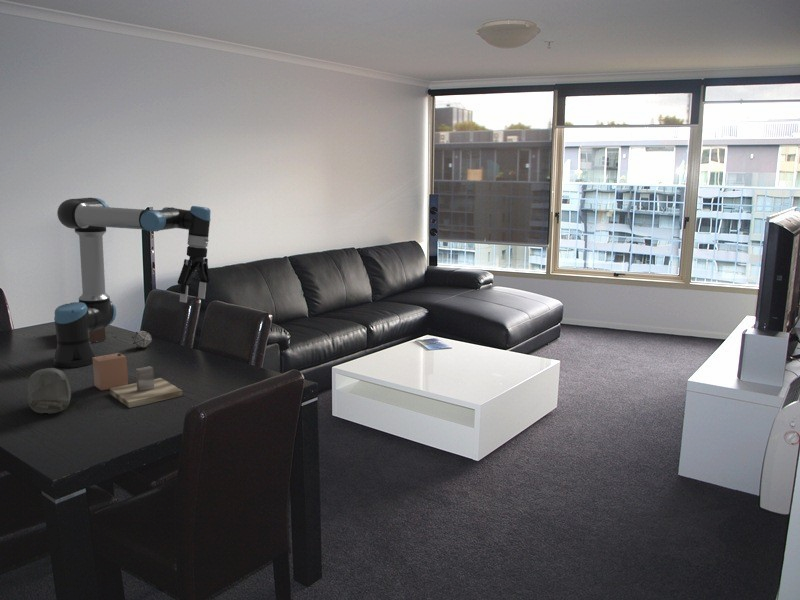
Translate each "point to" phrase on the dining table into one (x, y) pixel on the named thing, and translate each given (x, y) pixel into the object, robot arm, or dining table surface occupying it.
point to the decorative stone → (48, 391)
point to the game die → (142, 339)
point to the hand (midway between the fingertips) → (192, 300)
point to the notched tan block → (110, 371)
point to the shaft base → (145, 395)
